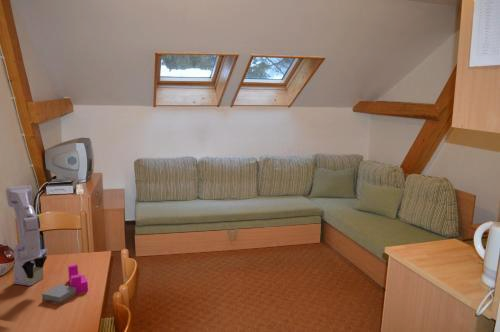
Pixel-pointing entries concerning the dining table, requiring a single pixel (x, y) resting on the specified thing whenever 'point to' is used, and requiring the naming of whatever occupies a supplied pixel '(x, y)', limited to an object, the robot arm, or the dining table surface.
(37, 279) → the sage cube
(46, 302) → the grey square slab
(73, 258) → the dining table surface
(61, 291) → the slate top slab
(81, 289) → the toy block
